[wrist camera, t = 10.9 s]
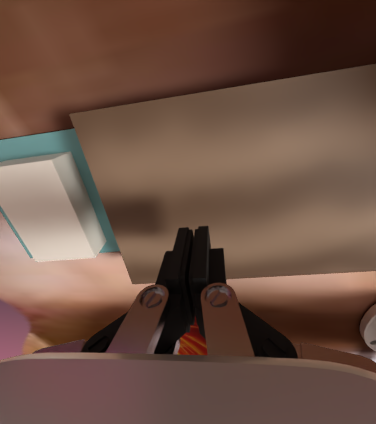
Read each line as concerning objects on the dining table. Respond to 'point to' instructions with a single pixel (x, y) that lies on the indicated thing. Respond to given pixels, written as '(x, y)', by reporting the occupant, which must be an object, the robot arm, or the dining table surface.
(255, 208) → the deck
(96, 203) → the mat
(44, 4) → the dining table surface
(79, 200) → the cream rectangular block
